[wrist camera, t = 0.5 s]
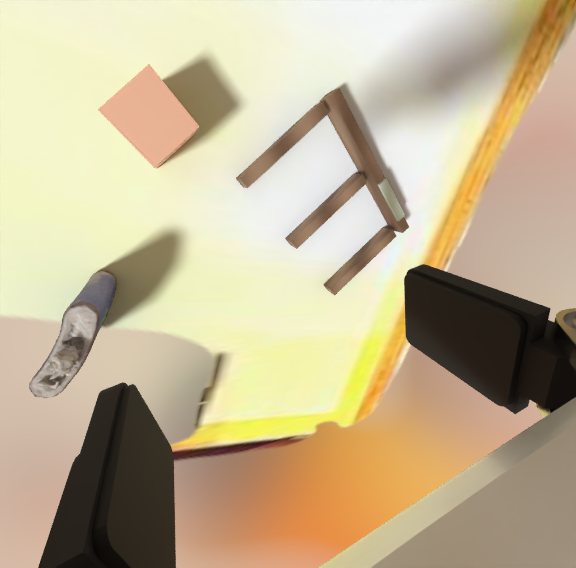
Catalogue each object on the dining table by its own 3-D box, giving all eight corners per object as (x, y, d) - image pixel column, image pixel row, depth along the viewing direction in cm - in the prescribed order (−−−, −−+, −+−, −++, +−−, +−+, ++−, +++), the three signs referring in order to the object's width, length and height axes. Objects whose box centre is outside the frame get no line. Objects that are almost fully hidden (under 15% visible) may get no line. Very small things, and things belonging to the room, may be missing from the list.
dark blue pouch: (95, 266, 29) (62, 310, 20) (125, 277, 31) (107, 323, 21) (59, 340, 30) (11, 414, 21) (89, 348, 32) (58, 420, 23)
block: (152, 85, 26) (148, 63, 21) (193, 134, 29) (199, 126, 23) (112, 122, 26) (98, 109, 21) (156, 168, 28) (154, 167, 23)
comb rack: (327, 93, 32) (341, 86, 29) (396, 224, 42) (411, 227, 39) (236, 178, 31) (242, 178, 29) (327, 290, 41) (338, 297, 39)
